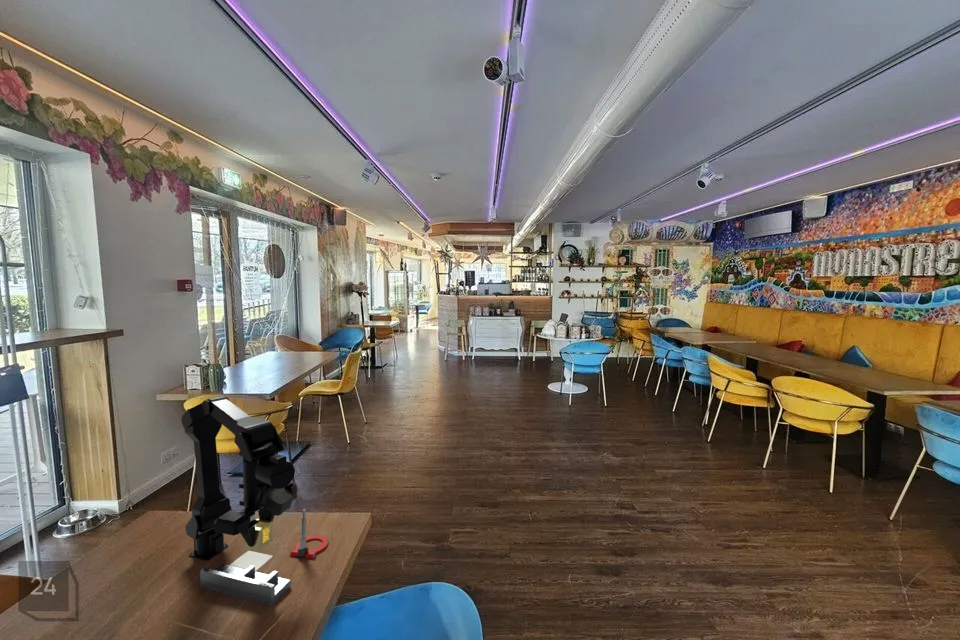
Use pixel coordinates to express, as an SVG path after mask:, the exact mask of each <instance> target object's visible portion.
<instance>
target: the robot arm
mask: <svg viewBox="0 0 960 640" xmlns="http://www.w3.org/2000/svg"><path fill="white" fill-rule="evenodd" d="M181 424H182V427H183V428H184V433H185V434H186V436H188V437H189V438H190V439H191V440H192V441H193V447H194V460H195V461H194V462H195V469H196V470H195V471H196V481H197V482H196V483H197V493H198V494H197V495H198V496H197V499H196V500H195V502H194V504H193V506H192V509H191V517H190V519H189V520H188V521H187V523H186V525H185V526H184V527H185V532H186V533H185V534H186V535H187V536H188V537H190V538H191V539H192V540H193V548H194V549H193V551H192V552H189V554H188V557H190V558H193V559H194V558H195V559H199V560H204V561H209V560H211V559H212V558H214V557H215V556H216V555H218V554H219V553H220V552H222V551H223V550H225V549H226V548H228V547H229V544H228V543H225V541H224V540H225V539H224V538H225V537H224V534H225V535H229V536H237V535H241V536H242V538H243V540H244V542H245V541H246V543H247V544H248V545H249V546H250V547H253V546H254V542H255V526H256V525H257V524H258V523H259V520H257V519H256V513H257V515H258V518H259V519H264V520H270V521H272V523H273V521H274V519H275V516H276V517H277V516H281V515H282V514H283V513H284V512H285V511H287V510H290V508H291V506H292V504H293V501H294V500H295V499H297V498H298V495H297V494H298V487H297V483H296V482H293V479H294V477H295V475H296V468H295V466H294V464H293V463H292V462H290V461H288V460H287V456H286V455H281V454H279V453H281V452H284V451H285V447H284V445H283V444H284V441H283V440H282V439H281V436H280V435H279V433H278V431H277V429H276V427H275V425H274V424H273V423H272V422H271V421H270V420H268V419H265V418H263V417H253V416H250V414H249V415H248V414H247V413H246V412H245V411H243V410H242V409H241V408H240V407H238V406H237V405H235V404H234V403H232V402H231V401H230V399H229V397H228V396H226V395H225V396H224V395H220V396H216V397H209V398H207V399H205V400H203V401H202V402H201V403H199V404H197V405H195V406H193V407H191V408H188V409H186V411H185V412H184V413H183V414H182V415H181ZM223 426H224V427H225V428H226V429H227V430H229V431H230V433H232V434H233V435H234V440H233V442H234V444H235V445H236V446H237V448H238V450H239V452H238V456H240V457H242V478H243V479H242V482H240V483H238V488H239V489H241V490H243V498H242V499H241V500H239V506H242V507H244V508H242V509H241V510H240V511H238V510H233V509H232V506H231V499H229V497H227V496H225V495H224V494H223V492H221V483H220V481H221V480H220V473H219V471H220V469H219V462H218V449H217V439H216V438H217V436H218V435H219V433H220V431H221V428H222V427H223ZM267 446H268V447H267ZM264 447H265V448H264Z"/></svg>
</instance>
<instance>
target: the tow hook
mask: <svg viewBox="0 0 960 640" xmlns="http://www.w3.org/2000/svg"><path fill="white" fill-rule="evenodd" d="M306 511H307V510H306V508H303V509H302V514H301V515H302V516H301V526H300V539H299V541H298V542H297V543H296V544H295V549H292V550H291V551H290V553H289V555H290V556H291V557H296V558H303V559H311V560H314V559H315V557H316V556H317V555H318V554H319V553H322V552H323V551H325V550H326V549H327V547H328V546H329V540H328V538H327V537H325V536H323V535H310V536H307V517H306V515H307V513H306ZM311 541H320V542H321V543H322V544H321V545H320V546H319V547H317V548H314V549H310V550H309V546H307V542H311Z"/></svg>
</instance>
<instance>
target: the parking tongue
mask: <svg viewBox="0 0 960 640" xmlns="http://www.w3.org/2000/svg"><path fill="white" fill-rule="evenodd" d="M273 557H274V555H271V554H266V553H261V552H259V551H254V550H250V549H247V551H246V552H244V553H243V554H242V555H241V556H239V557H238V558H237V559H235V560H234V561H232V562H231V563H230V564H229V565H230V566H234V567H238V568H242V569H247V568H248V567H249V566H251V565H252V566H255V572H257V571H258V570H259V569H260V568H261V567H263V566H264V565H265V564H266V563H267V562H268V561H270V559H272V558H273Z"/></svg>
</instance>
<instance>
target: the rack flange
mask: <svg viewBox="0 0 960 640" xmlns="http://www.w3.org/2000/svg"><path fill="white" fill-rule="evenodd" d="M199 575H200V576H199V577H200V579H199V580H200V584H199V585H200V588H201V589H205V590H209V591H214V592H217V593H220V594H224V595H228V596H232V597H236V598H240V599H243V600H247V601H251V602H255V603H259V604H263V605H268V606H271V607H272V606H273V605H274V604H275V603H277V601H278V600H279V599H280V598H282V596H283V595H284V594H285V593H286V592H287V591H288V590H289V589H290V588H291V583H292V582H291V579H288V578H284V577H281V576H279V571H277V570H273V571H271V572H270V573H269V574H267V573H263V572H259V571H255V566H252V565H251V566H249V567H248V568H247V569H244V568H239V567H235V566H231V565H230V564H227V563H226V564H225V563H222V564H220V565H219V566H218V567H216V568H215V569H213V568H212V569H211V568H207V567H203V568H201V569H200V571H199Z"/></svg>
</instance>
